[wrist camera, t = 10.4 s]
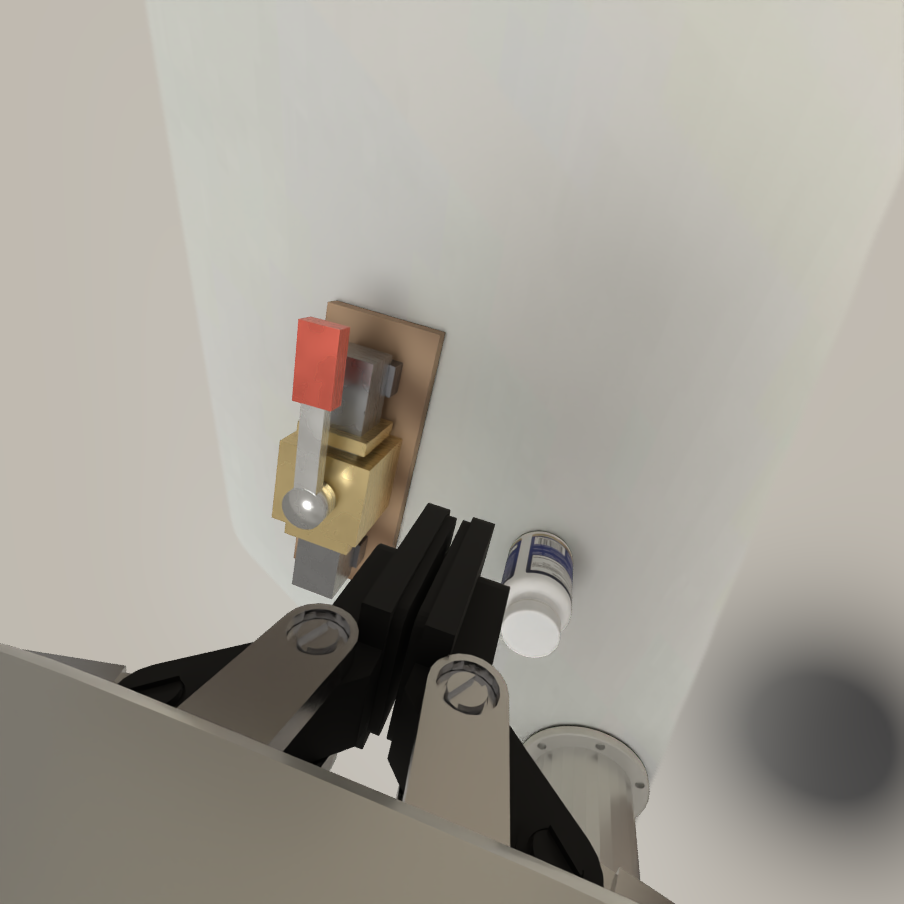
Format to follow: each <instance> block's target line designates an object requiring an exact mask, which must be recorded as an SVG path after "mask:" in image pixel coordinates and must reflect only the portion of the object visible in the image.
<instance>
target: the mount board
mask: <svg viewBox="0 0 904 904" xmlns="http://www.w3.org/2000/svg"><path fill="white" fill-rule="evenodd" d="M325 321H329V322H333V323H337V324H341V325H345V326H348V327H350V334H349V342H351V343H355V344H358V345H361V346H364V347H368V348H371V349H374V350H378V351H381V352H384V353H388V354H391V355H393V356H392V360H396V361H399V362H402V363H403V367H402V372H401V377H400V382H399V387H398V392H397V393H396V394H395V395H393V396H392V397H390V398H388V397H385V398H384V403H383V408H382V413H381V418H382V419H385V420H388V421H391V422H393V425H392V430H391V434H390V435H393V436H396V437H399V438H402V439H403V440H402V445H401V450H400V454H399V459H398V463H397V468H396V473H395V477H394V482H393V487H392V491H391V496H390V500H389V505H388V507H387V508H386V510H385V511H384V512H383V513H382V515H381V516H380V517H379V518H378V520H377V521H376V522H375V523H374V525H373V526H372V527H371V528H370V530H369V531H368V532H367V533H366V536H368V540H367V545H366V550H365V555H364V558H363V560H362V561H361V563H360V564H359V565H358V567H357V568H353V567H352V569H351V574H350V575H349V577H348V578H349V579H352V578H353V577H354V575H355V574H356V573H357V571H358V570H359V569H360V567H361V566H362V565H363V563H364V562H365V561H366V559H367V558H368V557H369V555H370V554H371V553H372V551H373V550H374V549H375V547H376V546H377V545H378V544H380V543H382V544H384V545H387V546H390V547H393V548H396V544H397V539H398V535H399V531H400V526H401V522H402V518H403V513H404V509H405V505H406V500H407V496H408V492H409V487H410V483H411V479H412V474H413V470H414V466H415V461H416V457H417V453H418V449H419V444H420V440H421V436H422V431H423V427H424V423H425V418H426V414H427V410H428V405H429V401H430V397H431V392H432V388H433V384H434V379H435V375H436V371H437V367H438V362H439V358H440V354H441V349H442V345H443V341H444V336H445V332H442V331H439V330H436V329H432V328H429V327H425V326H422V325H418V324H415V323H412V322H408V321H405V320H401V319H398V318H395V317H391V316H388V315H384V314H381V313H378V312H374V311H371V310H367V309H364V308H360V307H357V306H354V305H350V304H347V303H343V302H340V301H331V302H328V305H327V312H326V320H325ZM297 544H298V538H297V537H296V545H295V552H294V558H296V551H297Z"/></svg>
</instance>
